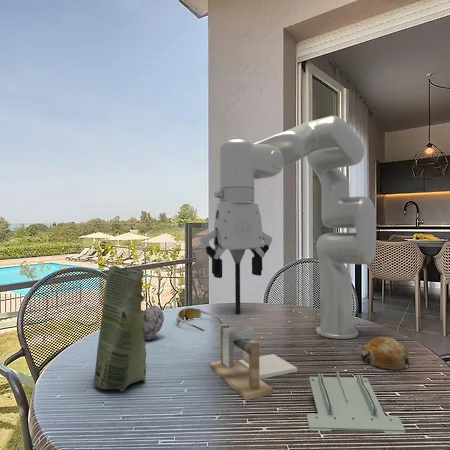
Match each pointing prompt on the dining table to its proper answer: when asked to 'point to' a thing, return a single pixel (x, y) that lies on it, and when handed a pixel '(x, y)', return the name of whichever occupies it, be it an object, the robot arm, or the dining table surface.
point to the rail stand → (243, 371)
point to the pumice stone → (153, 322)
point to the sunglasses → (192, 315)
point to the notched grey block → (228, 342)
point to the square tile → (271, 366)
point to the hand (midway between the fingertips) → (237, 276)
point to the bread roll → (385, 354)
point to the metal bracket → (348, 406)
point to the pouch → (121, 331)
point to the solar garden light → (237, 274)
